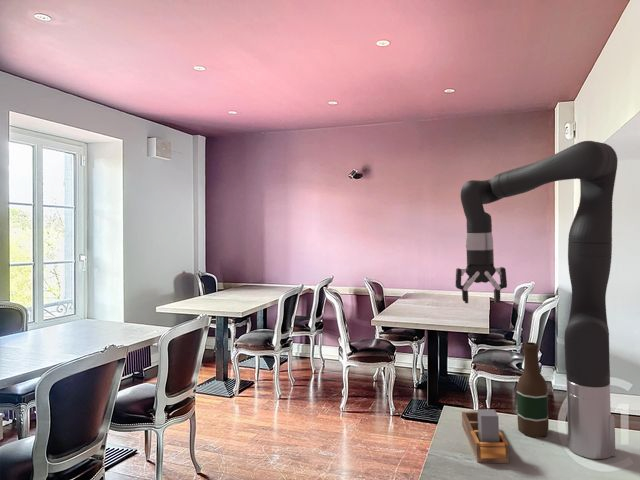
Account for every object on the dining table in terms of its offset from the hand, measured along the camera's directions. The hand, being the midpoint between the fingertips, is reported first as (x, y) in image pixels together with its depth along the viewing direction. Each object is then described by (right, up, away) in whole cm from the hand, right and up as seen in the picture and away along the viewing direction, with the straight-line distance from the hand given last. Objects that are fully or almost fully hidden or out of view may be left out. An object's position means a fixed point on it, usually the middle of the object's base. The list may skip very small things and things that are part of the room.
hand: (481, 302), depth 137 cm
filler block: (-6, -33, -24) cm, 41 cm away
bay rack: (-5, -34, -17) cm, 38 cm away
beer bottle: (+10, -33, -12) cm, 37 cm away
